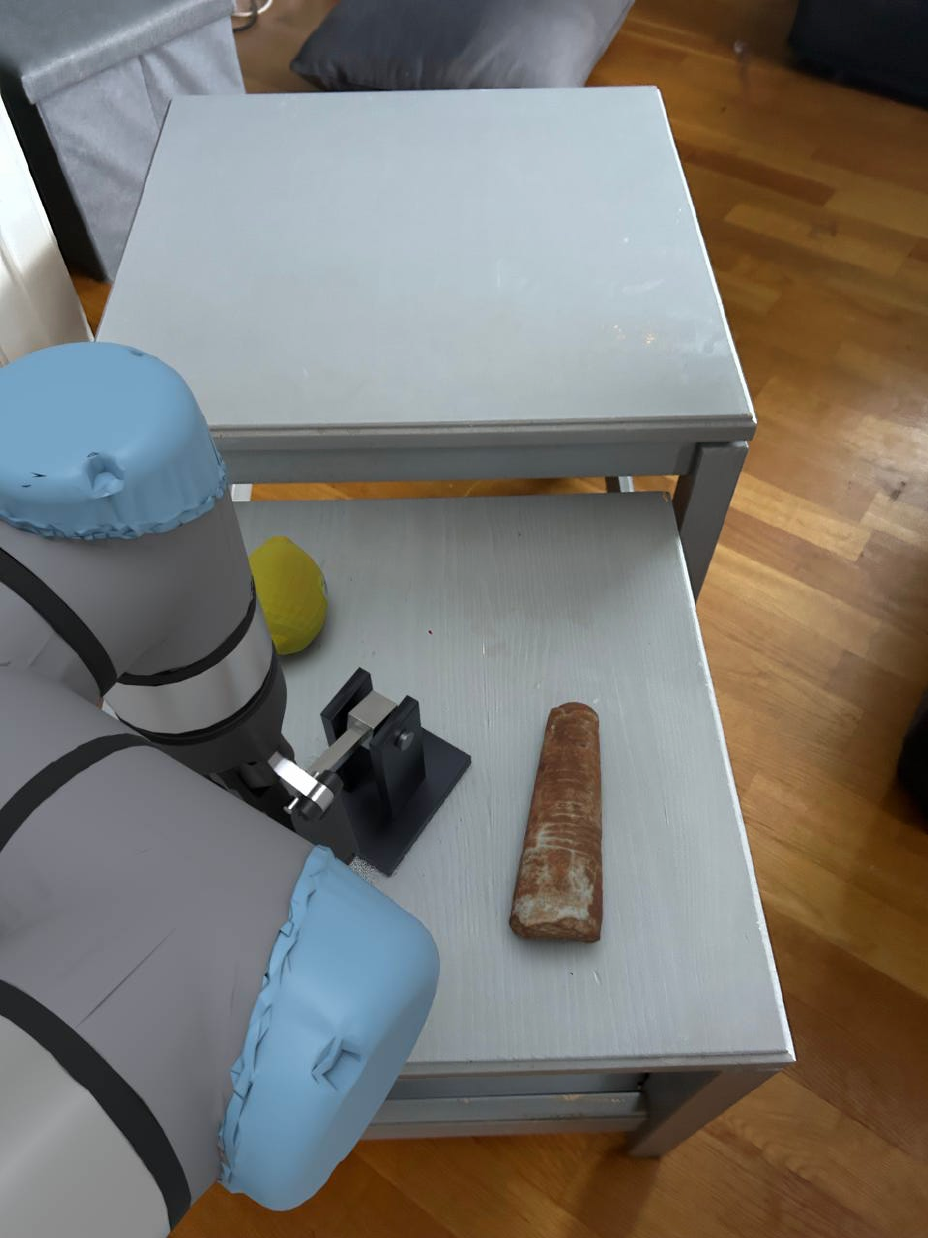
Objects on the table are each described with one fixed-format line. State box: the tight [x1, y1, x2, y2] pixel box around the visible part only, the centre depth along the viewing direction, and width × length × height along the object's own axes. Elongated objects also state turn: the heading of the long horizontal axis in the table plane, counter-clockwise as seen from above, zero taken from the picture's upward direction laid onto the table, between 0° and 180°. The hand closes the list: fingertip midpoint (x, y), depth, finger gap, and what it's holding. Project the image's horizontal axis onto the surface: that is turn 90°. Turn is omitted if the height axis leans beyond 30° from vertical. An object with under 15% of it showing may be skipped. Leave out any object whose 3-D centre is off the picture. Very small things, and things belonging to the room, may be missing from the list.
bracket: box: [319, 666, 472, 877], centre depth 68 cm, size 11×9×13 cm
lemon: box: [248, 535, 329, 656], centre depth 79 cm, size 11×8×8 cm
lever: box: [304, 689, 399, 775], centre depth 61 cm, size 13×6×2 cm, turn 147°
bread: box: [508, 701, 604, 944], centre depth 69 cm, size 6×19×6 cm, turn 169°
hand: (276, 856), depth 61 cm, fingers closed on lever, 6 cm apart
